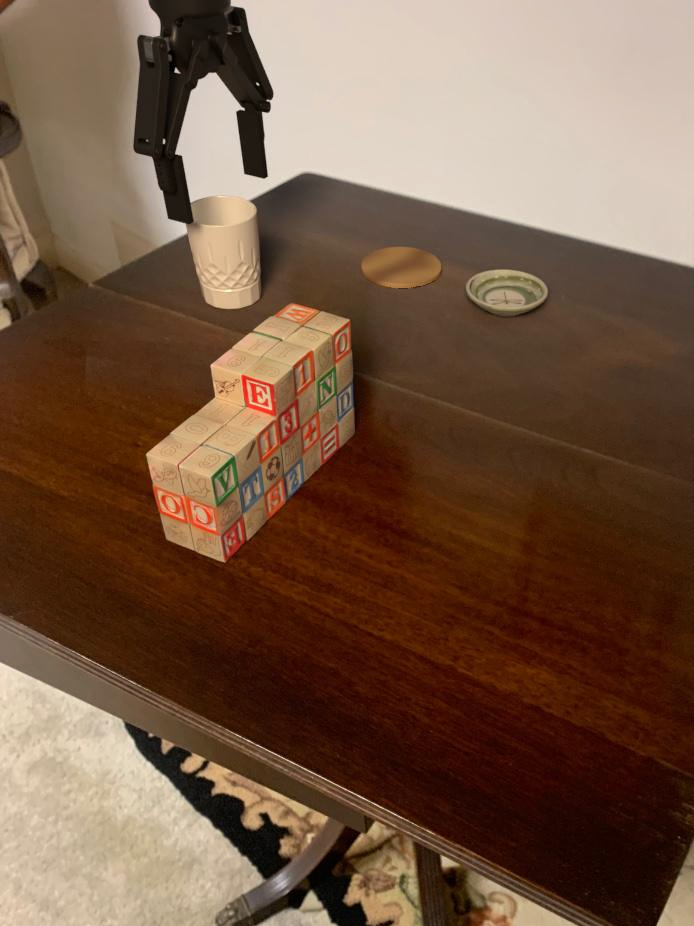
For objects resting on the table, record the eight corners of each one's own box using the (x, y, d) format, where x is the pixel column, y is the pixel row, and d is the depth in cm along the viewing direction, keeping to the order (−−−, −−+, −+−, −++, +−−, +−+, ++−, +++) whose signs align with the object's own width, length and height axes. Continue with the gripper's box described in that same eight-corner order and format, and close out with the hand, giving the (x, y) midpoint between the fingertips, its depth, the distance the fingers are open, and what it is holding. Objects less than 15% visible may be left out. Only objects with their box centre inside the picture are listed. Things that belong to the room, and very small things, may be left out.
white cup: (224, 274, 108) (212, 190, 100) (279, 290, 105) (270, 205, 98) (184, 301, 103) (167, 215, 95) (240, 319, 100) (228, 232, 93)
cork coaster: (346, 276, 109) (346, 271, 108) (385, 244, 115) (385, 240, 114) (418, 296, 106) (418, 291, 105) (454, 263, 112) (454, 258, 112)
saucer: (530, 283, 109) (532, 264, 107) (557, 322, 103) (560, 303, 101) (455, 290, 107) (455, 271, 105) (478, 331, 101) (479, 311, 99)
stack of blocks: (226, 566, 73) (202, 445, 64) (165, 542, 75) (133, 420, 66) (356, 432, 87) (351, 316, 78) (302, 414, 88) (291, 298, 79)
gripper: (125, -6, 71) (175, 250, 87) (293, -60, 87) (311, 165, 103) (53, -19, 74) (115, 233, 89) (230, -70, 89) (256, 152, 105)
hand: (220, 197), depth 96 cm, fingers open, 13 cm apart
